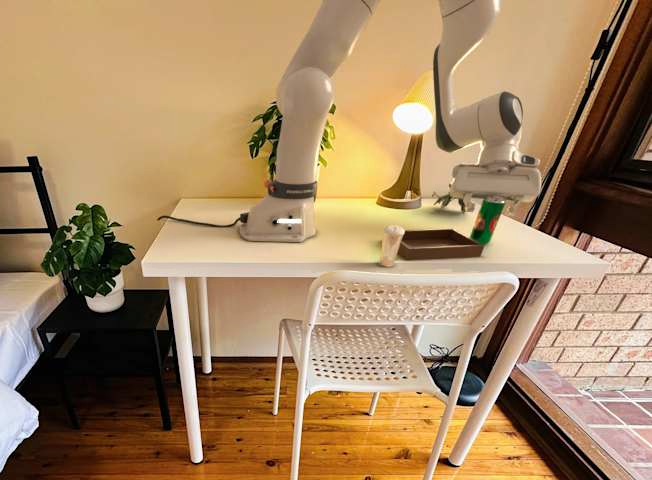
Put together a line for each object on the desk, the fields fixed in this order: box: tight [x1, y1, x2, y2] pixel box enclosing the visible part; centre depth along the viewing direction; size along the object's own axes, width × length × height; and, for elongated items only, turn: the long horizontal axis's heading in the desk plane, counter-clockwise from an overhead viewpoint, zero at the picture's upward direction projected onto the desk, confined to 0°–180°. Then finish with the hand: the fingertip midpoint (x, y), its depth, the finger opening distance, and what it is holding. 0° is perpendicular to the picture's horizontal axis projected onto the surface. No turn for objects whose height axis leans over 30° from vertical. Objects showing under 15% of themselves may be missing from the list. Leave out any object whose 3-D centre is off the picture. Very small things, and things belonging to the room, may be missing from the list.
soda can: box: [469, 195, 507, 246], centre depth 98 cm, size 5×5×12 cm
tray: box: [397, 227, 486, 261], centre depth 97 cm, size 20×14×3 cm
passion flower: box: [431, 182, 472, 214], centre depth 124 cm, size 11×11×12 cm
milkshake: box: [378, 225, 405, 268], centre depth 86 cm, size 4×5×10 cm
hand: (490, 212), depth 96 cm, fingers open, 8 cm apart
